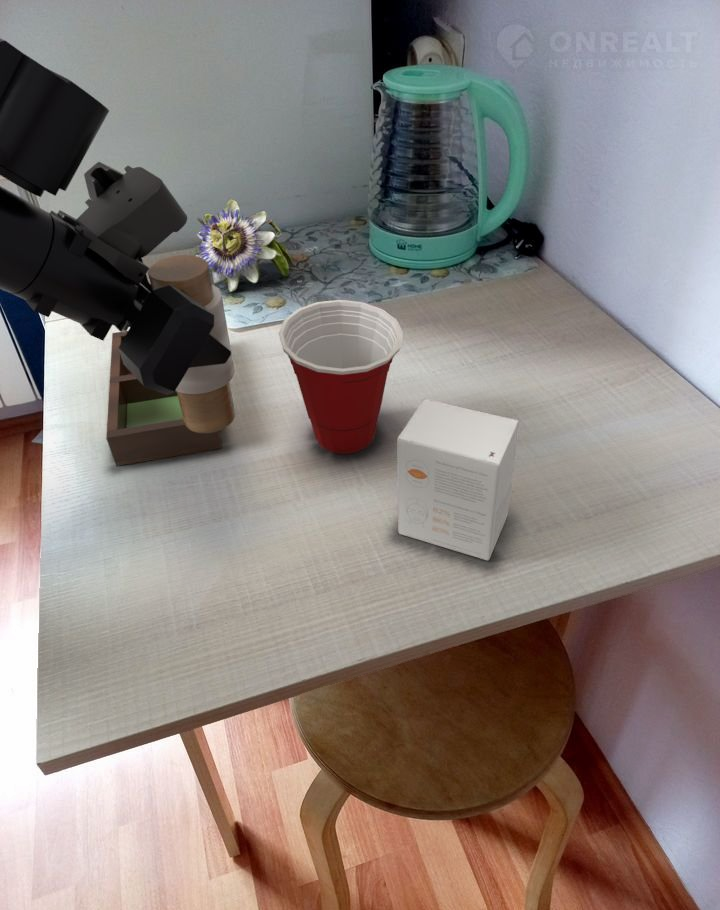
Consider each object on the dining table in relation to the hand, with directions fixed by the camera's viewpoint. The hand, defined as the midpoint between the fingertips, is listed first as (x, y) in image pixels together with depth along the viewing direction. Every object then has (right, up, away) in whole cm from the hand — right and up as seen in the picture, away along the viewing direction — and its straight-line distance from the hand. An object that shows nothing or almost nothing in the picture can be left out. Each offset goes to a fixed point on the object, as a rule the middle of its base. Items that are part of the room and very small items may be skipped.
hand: (210, 342), depth 57 cm
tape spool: (-1, -6, +4) cm, 7 cm away
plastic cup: (+11, -8, +12) cm, 18 cm away
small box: (+20, -15, +2) cm, 25 cm away
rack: (-8, -3, +17) cm, 19 cm away
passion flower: (-3, +15, +38) cm, 41 cm away
